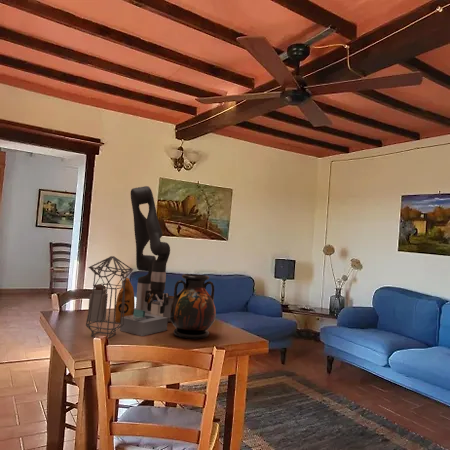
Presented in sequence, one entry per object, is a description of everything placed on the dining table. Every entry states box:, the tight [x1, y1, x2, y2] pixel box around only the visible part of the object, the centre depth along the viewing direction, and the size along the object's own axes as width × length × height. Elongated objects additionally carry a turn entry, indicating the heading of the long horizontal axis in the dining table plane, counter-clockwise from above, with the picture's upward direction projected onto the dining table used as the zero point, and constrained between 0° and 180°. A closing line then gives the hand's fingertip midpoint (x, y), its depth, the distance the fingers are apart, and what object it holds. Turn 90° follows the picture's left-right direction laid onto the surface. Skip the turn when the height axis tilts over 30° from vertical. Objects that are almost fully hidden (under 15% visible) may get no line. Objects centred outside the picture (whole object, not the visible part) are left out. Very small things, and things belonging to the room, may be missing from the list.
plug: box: [150, 300, 163, 317], centre depth 207 cm, size 5×5×11 cm
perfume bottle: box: [87, 284, 109, 323], centre depth 205 cm, size 7×7×18 cm
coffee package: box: [115, 277, 136, 323], centre depth 207 cm, size 10×12×22 cm
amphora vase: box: [170, 273, 217, 340], centre depth 188 cm, size 22×22×28 cm
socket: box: [119, 313, 168, 337], centre depth 191 cm, size 17×14×6 cm
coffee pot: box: [163, 295, 174, 323], centre depth 218 cm, size 21×12×15 cm, turn 104°
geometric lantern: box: [85, 255, 134, 339], centre depth 177 cm, size 16×16×35 cm
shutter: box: [124, 308, 146, 321], centre depth 185 cm, size 6×7×4 cm
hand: (155, 312), depth 207 cm, fingers open, 8 cm apart
